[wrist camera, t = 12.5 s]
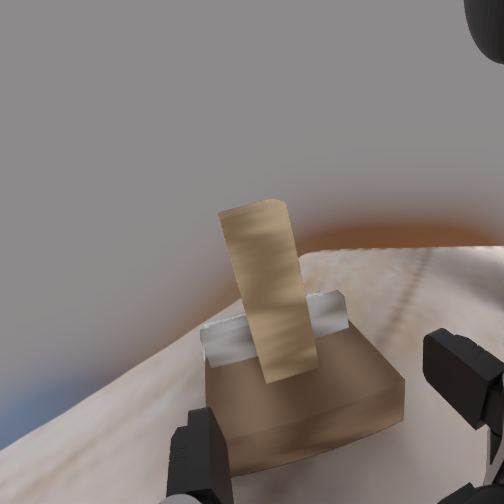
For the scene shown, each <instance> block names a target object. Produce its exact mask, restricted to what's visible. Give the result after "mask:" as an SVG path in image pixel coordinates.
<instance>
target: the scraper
mask: <svg viewBox="0 0 504 504" xmlns="http://www.w3.org/2000/svg"><path fill="white" fill-rule="evenodd" d="M218 214H219V218H220V222H221V225H222V229H223V232H224V236H225V240H226V244H227V248H228V251H229V255H230V259H231V262H232V266H233V270H234V273H235V277H236V280H237V284H238V287H239V291H240V294H241V298H242V302H243V305H244V309H245V312H246V316H247V317H246V318H243V319H239V320H235V321H232V322H228V323H224V324H220V325H217V326H213V327H209V328H205V329H201V330H200V340H201V342H202V345H203V348H204V350H205V353H206V356H207V359H208V361H209V364H210V366H211V368H215V367H219V366H223V365H227V364H231V363H234V362H238V361H242V360H246V359H249V358H253V357H257V356H258V357H259V361H260V364H261V368H262V371H263V374H264V378H265V381H266V384H267V383H271V382H274V381H278V380H281V379H284V378H288V377H291V376H294V375H297V374H301V373H304V372H307V371H310V370H313V369H316V368H319V362H318V357H317V351H316V346H315V341H314V339H316V338H319V337H322V336H325V335H328V334H331V333H334V332H337V331H340V330H343V329H346V328H349V325H348V318H347V311H346V304H345V297H344V295H343V294H341V293H340V292H339V291H338V290H337V291H333V292H330V293H327V294H324V295H321V296H318V297H314V298H311V299H308V300H306V295H305V290H304V285H303V280H302V275H301V271H300V266H299V261H298V257H297V252H296V248H295V243H294V238H293V234H292V229H291V225H290V221H289V216H288V212H287V207H286V203H285V202H282V201H279V200H276V199H268V200H264V201H260V202H256V203H253V204H248V205H245V206H241V207H237V208H233V209H230V210H226V211H222V212H219V213H218Z"/></svg>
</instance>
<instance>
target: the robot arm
mask: <svg viewBox="0 0 504 504" xmlns="http://www.w3.org/2000/svg"><path fill="white" fill-rule="evenodd" d="M464 7H465V14H466V19H467V23H468V27H469V30H470V33H471V35H472V37H473V40H474V41H475V43H476V45H477V46H478V48H479V49H480V50H481V52H482V53H483V54H484V55H485V56H486V57H488V58H489V59H490V60H492V61H494V62H497V63H500V64H504V0H464ZM423 373H424V376H425V378H426V380H427V382H428V383H429V384H430V385H431V386H432V387H433V388H434V389H435V390H436V391H437V392H438V393H439V394H440V395H441V396H442V397H443V398H444V399H445V400H446V401H447V402H448V403H449V404H450V405H451V406H452V407H453V408H454V409H455V410H456V411H457V412H458V413H459V414H460V415H461V416H462V417H463V418H464V419H465V420H466V421H467V422H468V423H469V424H470V425H471V426H472V427H473V428H474V429H475V430H477V429H479V428H480V427H482V426H483V425H485V424H487V425H488V426H489V428H488V431H487V463H486V474H485V479H484V482H483V486H480V487H477V488H474V487H473V485H472V484H471V483H470V482H469V483H468V484H466V485H465V486H463V487H462V488H460V489H459V490H457V491H455V492H454V493H452V494H450V495H449V496H447V497H445V498H444V499H442V500H441V501H440V502H439V503H437V504H504V363H503V362H502V361H500V360H499V359H498V358H496V357H495V356H493V355H492V354H490V353H489V352H488V351H486V350H485V351H484V349H483V348H482V347H480V346H479V345H478V346H477V344H476V343H475V342H473V341H472V340H470V339H469V338H467V337H463V336H460V335H453V334H451V333H450V332H449V331H447V330H446V329H444V328H440V329H438V330H436V331H434V332H432V333H430V334H427V335H426V336H425V337H424V340H423ZM170 451H171V452H170V456H169V460H170V461H169V468H168V480H167V493H166V498H165V499H164V500H162V501H161V502H160V503H159V504H234V501H233V492H232V484H231V475H230V466H229V456H228V448H227V444H226V441H225V438H224V435H223V433H222V431H221V429H220V426H219V424H218V422H217V420H216V418H215V415H214V413H213V411H212V409H211V407H206V408H201V409H196V410H191V411H189V412H188V426H183V427H178V428H177V430H176V431H175V433H174V435H173V436H172V438H171V446H170Z"/></svg>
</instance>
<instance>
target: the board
mask: <svg viewBox="0 0 504 504" xmlns="http://www.w3.org/2000/svg"><path fill="white" fill-rule="evenodd" d="M348 325H349V328H346V329H343V330H340V331H337V332H334V333H331V334H328V335H325V336H322V337H319V338H316V339H314V341H315V346H316V351H317V357H318V362H319V368H316V369H313V370H310V371H307V372H304V373H301V374H297V375H294V376H291V377H288V378H284V379H281V380H278V381H274V382H271V383H267V384H266V381H265V378H264V374H263V371H262V368H261V364H260V361H259V357H258V356H257V357H253V358H249V359H246V360H242V361H238V362H234V363H231V364H227V365H223V366H219V367H215V368H211V366H210V364H209V361H208V359H207V356H206V353H205V382H206V407H211V409H212V411H213V413H214V415H215V418H216V420H217V422H218V424H219V426H220V429H221V431H222V433H223V435H224V438H225V441H226V444H227V448H228V456H229V466H230V475H231V477H233V476H238V475H243V474H248V473H252V472H256V471H261V470H265V469H269V468H273V467H276V466H280V465H284V464H287V463H291V462H294V461H298V460H301V459H304V458H307V457H311V456H314V455H317V454H320V453H323V452H326V451H329V450H332V449H334V448H337V447H340V446H343V445H345V444H348V443H351V442H353V441H356V440H358V439H361V438H363V437H366V436H368V435H371V434H373V433H375V432H378V431H380V430H382V429H384V428H387V427H389V426H391V425H393V424H396V423H398V422H400V421H402V420H403V416H404V395H405V379H404V378H403V377H402V376H401V375H400V374H399V373H398V372H397V371H396V370H395V369H394V367H393V366H392V365H391V364H390V363H389V362H388V361H387V360H386V359H385V358H384V357H383V356H382V355H381V354H380V353H379V351H378V350H377V349H376V348H375V347H374V346H373V345H372V344H371V343H370V342H369V341H368V340H367V339H366V338H365V337H364V336H363V335H362V334H361V332H360V331H359V330H358V329H357V328H356V327H355V326H354V325H353V324H352V323H351V322H350V321H349V320H348Z"/></svg>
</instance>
